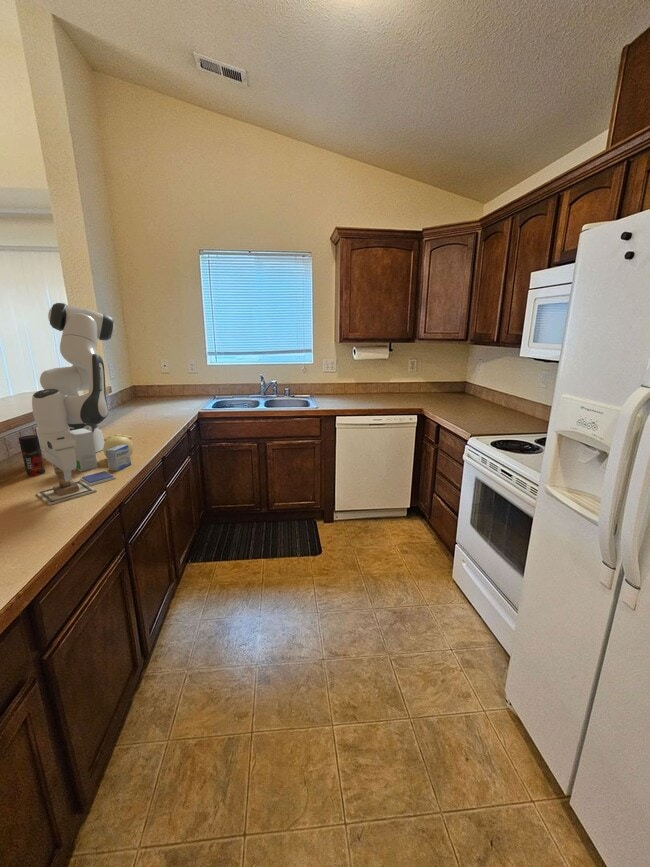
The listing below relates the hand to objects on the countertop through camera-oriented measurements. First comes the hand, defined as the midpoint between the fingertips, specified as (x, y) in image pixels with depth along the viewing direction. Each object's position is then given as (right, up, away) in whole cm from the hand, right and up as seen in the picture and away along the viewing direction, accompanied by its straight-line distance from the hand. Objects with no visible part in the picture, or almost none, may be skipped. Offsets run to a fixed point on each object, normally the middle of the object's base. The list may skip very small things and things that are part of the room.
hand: (63, 477), depth 131 cm
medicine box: (+6, +1, +26) cm, 27 cm away
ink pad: (+4, -2, +13) cm, 14 cm away
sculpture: (0, +4, +37) cm, 37 cm away
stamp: (0, -5, +1) cm, 5 cm away
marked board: (0, -6, +1) cm, 6 cm away
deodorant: (-24, -1, +20) cm, 31 cm away
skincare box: (-9, +1, +26) cm, 28 cm away
